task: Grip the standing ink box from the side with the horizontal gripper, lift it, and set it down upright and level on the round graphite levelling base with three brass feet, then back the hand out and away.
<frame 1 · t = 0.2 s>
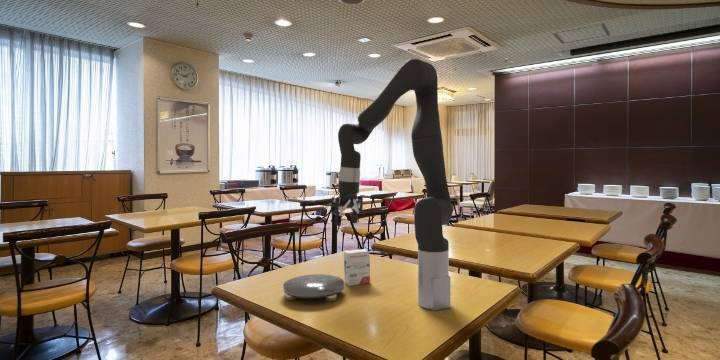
hand: (346, 224, 138), 22 cm above the table, tool pointing down, fingers open, 8 cm apart
ink box: (357, 283, 139), on the table
levelling base: (314, 294, 127), on the table
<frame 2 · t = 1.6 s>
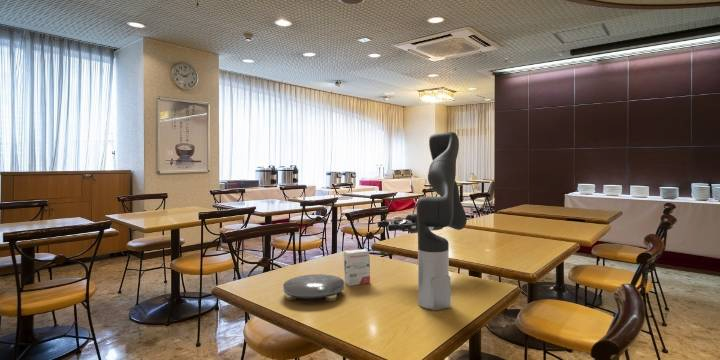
hand: (383, 226, 143), 20 cm above the table, tool horizontal, fingers open, 8 cm apart
nothing on the table moved.
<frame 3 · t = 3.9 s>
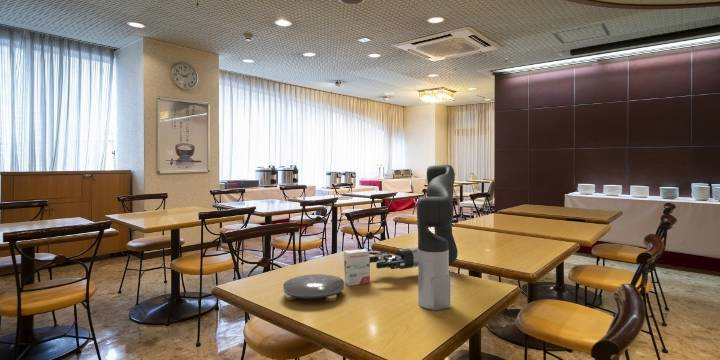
hand: (371, 262, 142), 7 cm above the table, tool horizontal, fingers open, 8 cm apart
nothing on the table moved.
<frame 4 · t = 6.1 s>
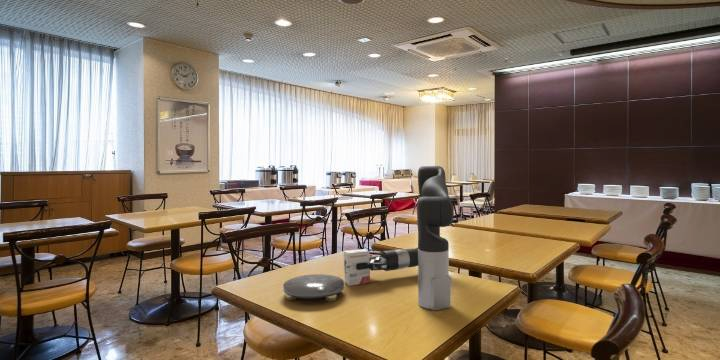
hand: (353, 265, 139), 7 cm above the table, tool horizontal, fingers closed on ink box, 5 cm apart
ink box: (357, 283, 139), on the table, touching gripper
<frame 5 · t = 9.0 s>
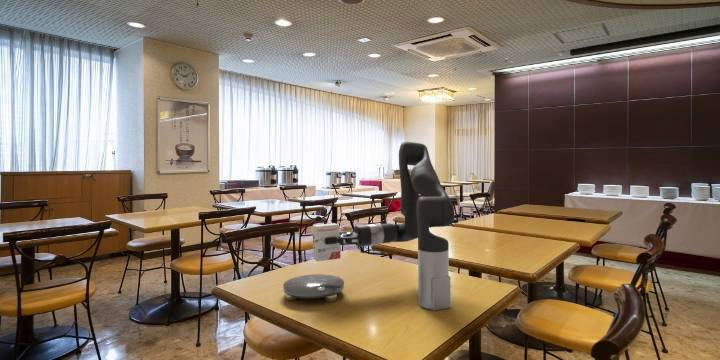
hand: (323, 239, 130), 18 cm above the table, tool horizontal, fingers closed on ink box, 5 cm apart
ink box: (326, 259, 130), point 11 cm above the table, touching gripper
when the fingers open (12 cm above the table, at t = 11.7 s): ink box drops 1 cm, resting on levelling base.
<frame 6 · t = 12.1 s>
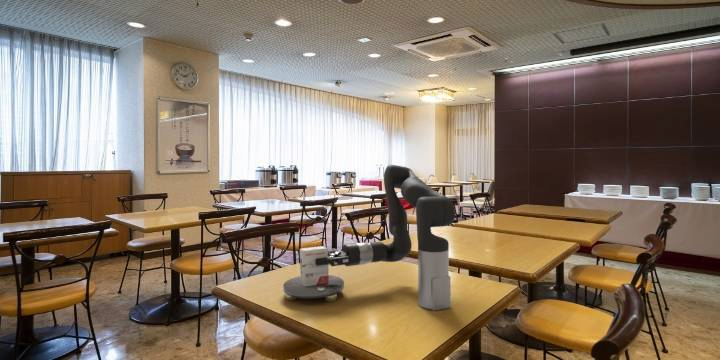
hand: (312, 259, 126), 12 cm above the table, tool horizontal, fingers open, 8 cm apart
ink box: (314, 283, 127), point 4 cm above the table, touching levelling base
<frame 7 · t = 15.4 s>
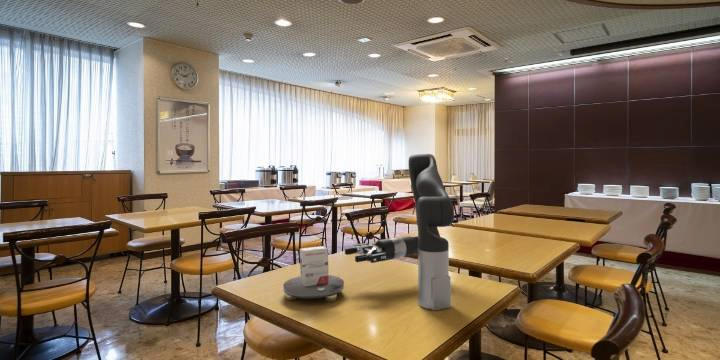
hand: (350, 255, 131), 12 cm above the table, tool horizontal, fingers open, 8 cm apart
nothing on the table moved.
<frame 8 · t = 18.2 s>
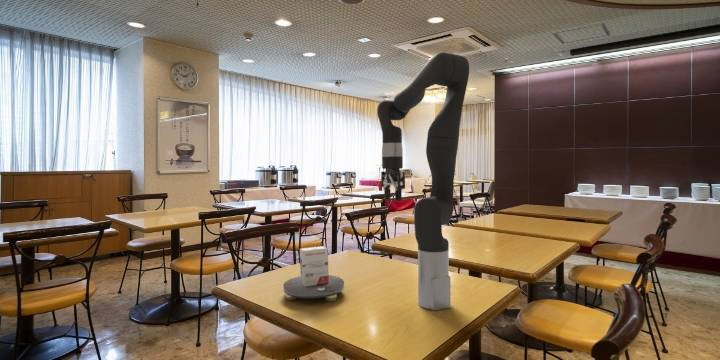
hand: (392, 199, 140), 30 cm above the table, tool pointing down, fingers open, 8 cm apart
nothing on the table moved.
at the end: ink box inside the target area on the levelling base (0.2 cm from its centre), point 3.8 cm above the levelling base's base; ink box tilted 0°; the gripper is holding nothing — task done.
